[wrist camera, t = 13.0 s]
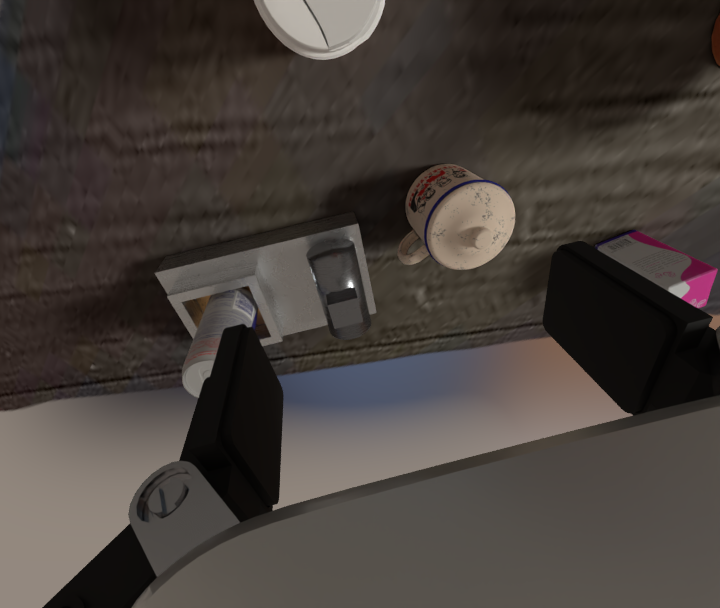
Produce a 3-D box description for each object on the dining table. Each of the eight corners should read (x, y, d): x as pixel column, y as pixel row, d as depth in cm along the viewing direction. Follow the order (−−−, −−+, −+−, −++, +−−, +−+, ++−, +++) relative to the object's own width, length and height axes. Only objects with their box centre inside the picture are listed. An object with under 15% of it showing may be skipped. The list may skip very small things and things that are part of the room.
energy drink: (223, 328, 41) (199, 409, 31) (200, 292, 38) (165, 369, 28) (266, 315, 41) (256, 392, 31) (246, 277, 38) (228, 350, 28)
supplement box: (592, 278, 51) (659, 324, 41) (594, 244, 47) (667, 286, 38) (631, 263, 50) (708, 307, 41) (635, 228, 47) (720, 266, 37)
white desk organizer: (211, 334, 46) (190, 398, 37) (166, 256, 39) (127, 310, 30) (370, 295, 46) (388, 349, 37) (353, 211, 40) (369, 251, 31)
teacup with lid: (454, 142, 37) (508, 165, 28) (489, 205, 42) (546, 244, 32) (367, 213, 40) (389, 257, 30) (409, 265, 45) (440, 317, 35)
